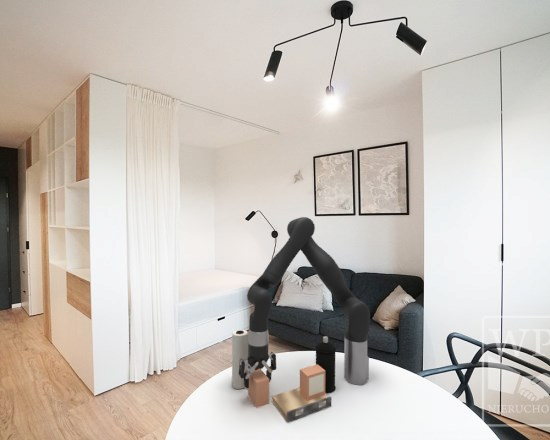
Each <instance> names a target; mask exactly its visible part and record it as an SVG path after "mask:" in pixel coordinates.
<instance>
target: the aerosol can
mask: <svg viewBox="0 0 550 440" xmlns="http://www.w3.org/2000/svg"><path fill="white" fill-rule="evenodd" d="M336 350H337V347H336V346H335V345H334V344H333V343H332V342H330V341H329V336H325V335H324V336H322V341H319V342H318V343H317V344H316V345H315V365H317V364H318V365H319V366H320V367H321V368H323V369H324V370H325V394H331V393H334V392H335V391H336V389H337V387H336Z"/></svg>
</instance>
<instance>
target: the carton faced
mask: <svg viewBox="0 0 550 440" xmlns="http://www.w3.org/2000/svg"><path fill="white" fill-rule="evenodd" d="M299 388H300V394H301V395H302V396H303V397H304V398H305V399H306V401H309V400H312V399H315V398H318V397H321V396H323V395H326V393H325V370H324V369H323V368H321V367H320V366H319V365H318V364H317V365H316V364H313V365H310V366H306V367H302V368H300V369H299Z"/></svg>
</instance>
